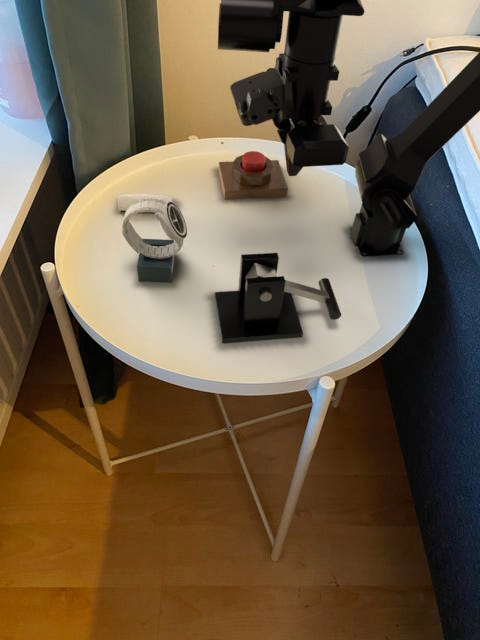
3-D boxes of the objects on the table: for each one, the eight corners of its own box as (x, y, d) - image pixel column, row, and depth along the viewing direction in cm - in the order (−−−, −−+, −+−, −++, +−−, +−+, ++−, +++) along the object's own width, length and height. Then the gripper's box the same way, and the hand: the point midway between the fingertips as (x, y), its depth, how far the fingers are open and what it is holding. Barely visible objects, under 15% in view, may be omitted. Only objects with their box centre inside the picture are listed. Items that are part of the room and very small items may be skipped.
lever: (323, 289, 72) (333, 276, 71) (334, 323, 68) (346, 311, 67) (242, 265, 67) (252, 251, 65) (250, 301, 63) (260, 287, 61)
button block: (277, 168, 93) (279, 150, 90) (286, 197, 87) (289, 178, 85) (218, 170, 91) (219, 152, 89) (224, 199, 86) (225, 180, 83)
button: (262, 160, 88) (263, 150, 87) (266, 173, 86) (267, 163, 85) (240, 161, 88) (241, 151, 87) (243, 174, 86) (244, 164, 84)
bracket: (288, 293, 73) (297, 242, 67) (301, 339, 68) (312, 289, 61) (214, 298, 72) (215, 247, 65) (221, 345, 67) (224, 295, 60)
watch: (186, 285, 73) (184, 219, 65) (125, 283, 73) (116, 216, 65) (189, 257, 77) (187, 191, 69) (131, 254, 77) (123, 188, 68)
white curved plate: (122, 198, 85) (120, 182, 83) (174, 200, 85) (173, 184, 83) (119, 213, 82) (116, 196, 80) (172, 215, 83) (171, 199, 80)
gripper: (224, 20, 65) (220, 139, 77) (255, 96, 53) (244, 223, 65) (314, 19, 67) (297, 136, 79) (363, 92, 55) (334, 217, 67)
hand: (291, 174), depth 72 cm, fingers closed
